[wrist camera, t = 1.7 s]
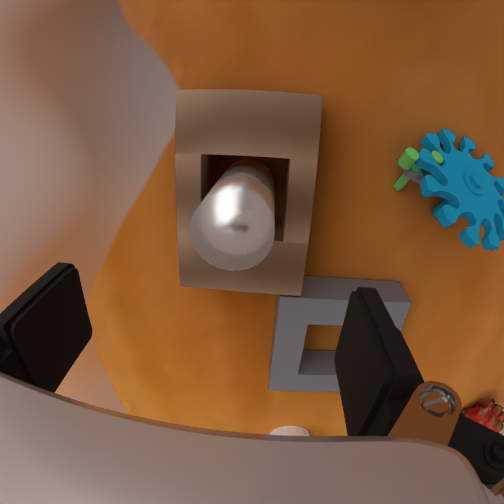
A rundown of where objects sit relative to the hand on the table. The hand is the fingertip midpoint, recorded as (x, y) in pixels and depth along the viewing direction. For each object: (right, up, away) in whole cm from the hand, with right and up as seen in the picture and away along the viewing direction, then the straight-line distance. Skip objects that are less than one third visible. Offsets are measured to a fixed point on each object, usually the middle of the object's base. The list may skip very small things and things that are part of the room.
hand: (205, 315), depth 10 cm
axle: (+1, +7, +14) cm, 16 cm away
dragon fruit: (+36, -23, +26) cm, 50 cm away
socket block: (+9, -5, +19) cm, 22 cm away
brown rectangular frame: (+1, +7, +14) cm, 16 cm away
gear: (+17, +9, +12) cm, 23 cm away
